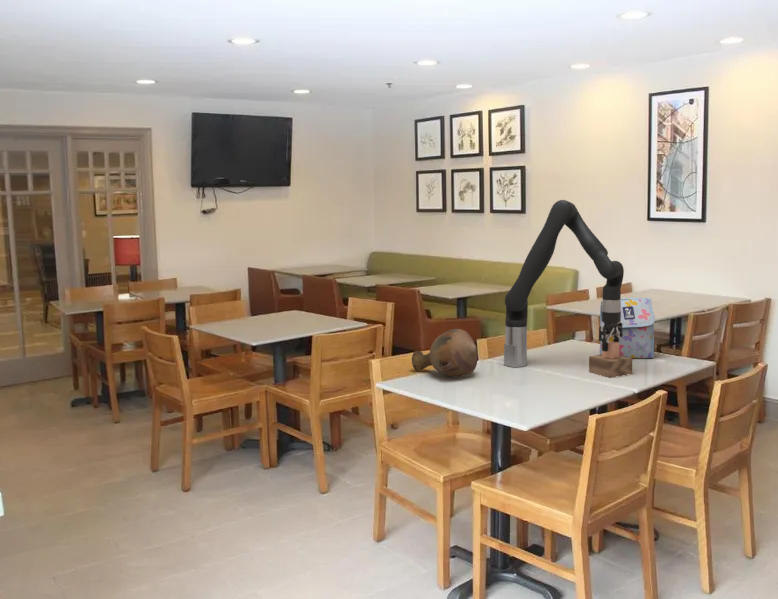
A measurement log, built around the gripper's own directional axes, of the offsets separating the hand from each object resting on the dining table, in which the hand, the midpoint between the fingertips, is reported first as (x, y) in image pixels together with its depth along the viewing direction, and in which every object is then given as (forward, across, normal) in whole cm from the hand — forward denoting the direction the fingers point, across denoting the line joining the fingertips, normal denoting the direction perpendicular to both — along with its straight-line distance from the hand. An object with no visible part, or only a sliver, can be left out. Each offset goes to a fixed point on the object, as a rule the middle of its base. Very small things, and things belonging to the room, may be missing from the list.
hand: (610, 349), depth 315 cm
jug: (+10, -46, +49) cm, 68 cm away
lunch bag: (+10, +33, +12) cm, 37 cm away
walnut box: (+10, 0, 0) cm, 10 cm away
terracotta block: (+3, 0, 0) cm, 3 cm away
